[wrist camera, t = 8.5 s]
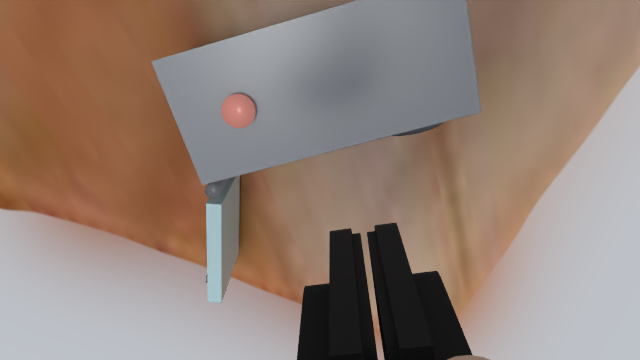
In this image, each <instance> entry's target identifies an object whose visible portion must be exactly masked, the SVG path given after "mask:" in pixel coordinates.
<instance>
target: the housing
mask: <svg viewBox="0 0 640 360" xmlns="http://www.w3.org/2000/svg"><path fill="white" fill-rule="evenodd" d="M151 62H152V64H153V67H154V69H155V72H156V74H157V76H158V79H159V81H160V84H161V86H162V89H163V91H164V93H165V96H166V98H167V101H168V103H169V106H170V108H171V110H172V113H173V115H174V118H175V120H176V123H177V125H178V127H179V130H180V132H181V135H182V137H183V140H184V142H185V144H186V147H187V149H188V152H189V154H190V157H191V159H192V162H193V164H194V166H195V169H196V171H197V174H198V176H199V179H200V181H201V183H202V185H205V184H208V185H207V187H206V189H205V193H206V195H207V196H208V197H210V198H213V199H214V198H217V197H219V196H220V194H221V192H222V190H223V189H224V187H225V185H226V183H227V182H228V180H229V178H231V177H235V176H239V175H243V174H247V173H251V172H254V171H258V170H262V169H266V168H270V167H273V166H277V165H281V164H285V163H289V162H293V161H296V160H300V159H304V158H308V157H312V156H315V155H319V154H323V153H327V152H331V151H334V150H338V149H342V148H346V147H350V146H354V145H357V144H361V143H365V142H369V141H373V140H376V139H380V138H384V137H388V136H404V135H411V134H416V133H420V132H424V131H427V130H430V129H433V128H435V127H437V126H439V125H441V124H442V123H443V122H445V121H449V120H453V119H457V118H460V117H464V116H468V115H472V114H476V113H479V112H481V109H480V101H479V93H478V86H477V78H476V70H475V62H474V55H473V47H472V39H471V31H470V23H469V16H468V8H467V0H356V1H353V2H350V3H346V4H343V5H339V6H336V7H333V8H329V9H326V10H323V11H319V12H316V13H313V14H309V15H306V16H302V17H299V18H296V19H292V20H289V21H286V22H282V23H279V24H276V25H272V26H269V27H265V28H262V29H259V30H255V31H252V32H249V33H245V34H242V35H238V36H235V37H232V38H228V39H225V40H222V41H218V42H215V43H212V44H208V45H205V46H201V47H198V48H195V49H191V50H188V51H185V52H181V53H178V54H175V55H171V56H168V57H164V58H161V59H158V60H154V61H151Z"/></svg>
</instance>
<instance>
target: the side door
mask: <svg viewBox="0 0 640 360" xmlns="http://www.w3.org/2000/svg"><path fill="white" fill-rule="evenodd" d="M239 203H240V175H239V176H235V177H231V178H229V180H228V182H227V183H226V185H225V187H224V189H223V190H222V192H221V194H220V196H219V197H217V198H214V199H213V198H209V200H208V201H207V203H206V223H207V276H206V283H208V302H218V303H221V302H222V300H223V297H224V294H225V291H226V288H227V286H228V283H229V280H230V277H231V274H232V271H233V268H234V266H235V263H236V260H237V257H238V254H239Z"/></svg>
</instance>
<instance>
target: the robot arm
mask: <svg viewBox="0 0 640 360" xmlns="http://www.w3.org/2000/svg"><path fill="white" fill-rule="evenodd" d="M367 236H368V244H369V251H370V259H371V266H372V274H373V281H374V289H375V296H376V304H377V311H378V319H379V326H380V332H381V339H382V345H383V352H384V359H385V360H489V359H486V358H484V357H478V356H473V355H472V353H471V350H470V348H469V346H468V343H467V340H466V338H465V336H464V333H463V331H462V328H461V326H460V323H459V321H458V319H457V316H456V314H455V311H454V309H453V306H452V304H451V301H450V299H449V296H448V294H447V292H446V289H445V287H444V284H443V282H442V279H441V277H440V275H439V273H438V272H437V271H432V272H423V273H415V274H412V272H411V269H410V266H409V262H408V259H407V256H406V253H405V249H404V246H403V243H402V239H401V236H400V233H399V230H398V226H397V223H390V224H382V225H375V231H373V232H367ZM297 360H378V358H377V351H376V344H375V336H374V328H373V321H372V314H371V307H370V299H369V292H368V285H367V278H366V271H365V264H364V257H363V250H362V243H361V235H360V233H357V234H352V231H351V229H343V230H335V231H330V282H329V284H320V285H311V286H305V288H304V292H303V303H302V314H301V324H300V335H299V344H298V355H297Z"/></svg>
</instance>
